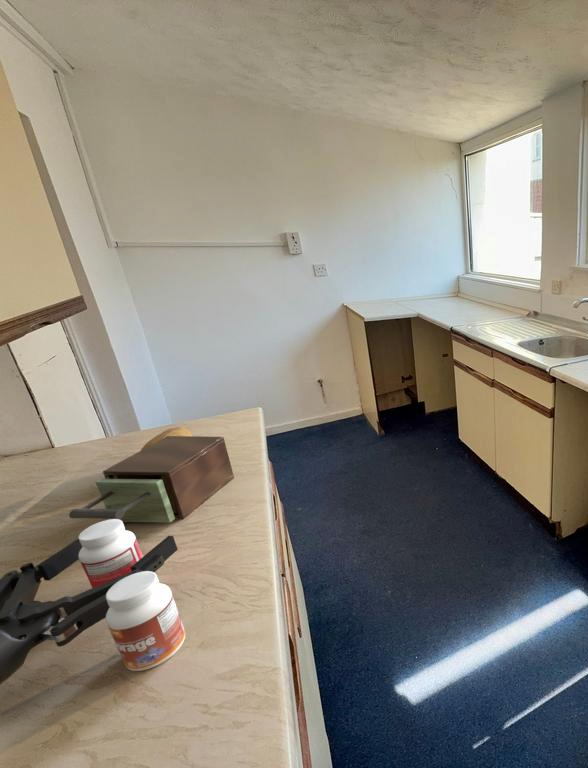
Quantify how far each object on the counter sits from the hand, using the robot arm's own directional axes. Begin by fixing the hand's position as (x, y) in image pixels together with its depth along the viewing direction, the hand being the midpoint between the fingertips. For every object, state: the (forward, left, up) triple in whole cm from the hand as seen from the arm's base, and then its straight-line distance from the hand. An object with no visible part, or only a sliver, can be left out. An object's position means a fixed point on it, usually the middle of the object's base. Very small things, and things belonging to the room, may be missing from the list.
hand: (131, 541), depth 63 cm
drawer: (-10, +14, -5) cm, 18 cm away
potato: (-23, +34, -6) cm, 41 cm away
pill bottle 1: (0, -3, -6) cm, 7 cm away
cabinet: (-10, +20, -6) cm, 23 cm away
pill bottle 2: (+14, -13, -6) cm, 20 cm away
